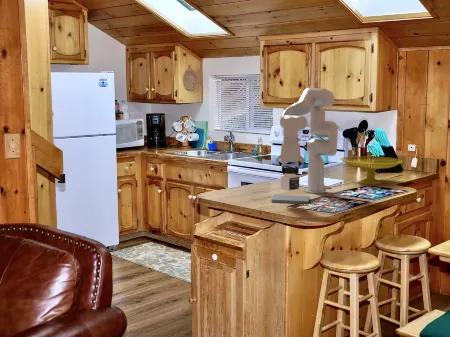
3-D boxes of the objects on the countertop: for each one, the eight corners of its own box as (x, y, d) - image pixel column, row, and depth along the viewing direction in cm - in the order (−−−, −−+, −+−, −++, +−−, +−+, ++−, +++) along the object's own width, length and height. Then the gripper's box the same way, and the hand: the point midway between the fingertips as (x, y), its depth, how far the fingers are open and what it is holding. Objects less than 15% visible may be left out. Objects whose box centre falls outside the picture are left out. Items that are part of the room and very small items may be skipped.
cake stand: (396, 190, 364) (397, 165, 362) (332, 184, 382) (332, 161, 379) (407, 180, 400) (408, 158, 398) (347, 175, 418) (348, 154, 415)
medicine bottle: (289, 191, 311) (289, 168, 309) (280, 188, 316) (280, 166, 314) (299, 189, 315) (299, 167, 313) (290, 187, 321) (290, 165, 319)
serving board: (309, 198, 335) (309, 196, 335) (308, 203, 321) (308, 201, 321) (273, 197, 338) (273, 194, 338) (271, 202, 325) (271, 199, 325)
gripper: (307, 140, 313) (306, 173, 317) (274, 139, 316) (274, 172, 319) (307, 141, 306) (306, 176, 309) (273, 141, 309) (273, 175, 312)
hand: (290, 174), depth 314 cm, fingers closed on medicine bottle, 6 cm apart
